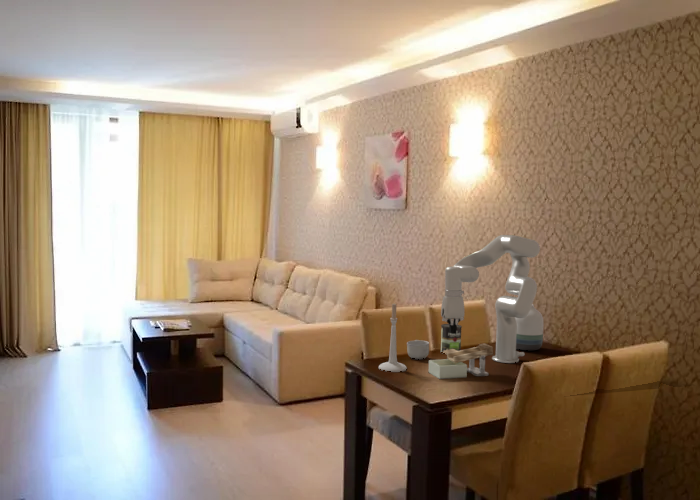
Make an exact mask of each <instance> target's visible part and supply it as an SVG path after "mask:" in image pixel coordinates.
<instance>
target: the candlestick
mask: <svg viewBox="0 0 700 500" xmlns="http://www.w3.org/2000/svg"><path fill="white" fill-rule="evenodd" d="M389 319H390V323H391V327H390V328H391V331H390V332H391V333H390V345H389V357H388V361H386V362H382V363H380V364H379V365H378V369H379V370H380V369H381V370H380V371H383V370H385V371H384V372H387V371H391V372H390V373H400V371H402V372H406V371H407V370H408V368H407V366H406V365H405V364H404V363H401V362H398V358H397V354H398V353H397V327H396V325H397V323H398V321H397V320H398V318H397V303H391V317H390V318H389ZM406 369H407V370H406Z"/></svg>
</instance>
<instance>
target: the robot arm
mask: <svg viewBox="0 0 700 500" xmlns="http://www.w3.org/2000/svg"><path fill="white" fill-rule="evenodd" d="M540 251H541V246H540V244H539V242H538V241H536V240H535V239H530V238H527V237H522V236H518V235H515V234H514V235H512V234H511V235H510V234H500V235H498V236H495V238H494V239H493V240H491V241H490V242H489V243H488V244H486V245H485V246H484V247H483V248H482V249H479V250H477V251H475V252H473V253H471V254H469V255H467V256H465V257H463V258H461V259H460V260H458V261H457V262H456V263H455V264H454V265H453V266H447V267H446V268H445V272H444V274H445V275H444V296H442V301H441V309H440V315H441V321H442V322H445V323H446V322H447V323H446V324H449V331H450V333H452V334H456V331H457V325H459V323H460V322H462V321H465V313H466V312H465V311H466V310H465V302H464V297H463V294H465V291H464V290H463V288H462V287H463V286H462V285H463V284H462V283H474V282H476V281H477V280H478V279H479V277H480V272H479V269H478V268H483V267H487V266H490V265H493V264H494V263H496V262H497V260H499V259H500V258H501V257H503V256H504V255H505V254H507V253H508V254H509V255H510V257H511V261H512V264H511V269H510V272H509V274H508V276H507V278H506V279H507V280H506V281H505V282H506V283H505V287H504V288H505V290H506V292H507V293H508V294H510V295H502V296H499V297H498V298H497V299H496V301H495V305H494V307H495V315H496V335H495V336H496V337H495V338H496V339H495V355H492V357H491V359H492V360H493V361H494V362H498V363H502V364H505V363H506V364H515V362H516V363H519V361H520V358H519V357H524V356H525V351H521V352H519V351H517V349H516V334H517V323H516V319H515V317H516V318H524V317H526V316H527V315H528V313H529V312H530V309H531V306H532V304H533V305H534V300H535V298H536V295H537V292H538V291H537V290H538V284H537V282H536V280H535V279H534V278H532V277H530V276H529V273H530V269H531V268H530V267H531V266H530V262H529V259H528V258H532V259H533V258H535V257H537V256H538V255H539V254H540ZM511 295H514V296H511ZM516 296H517V297H516Z"/></svg>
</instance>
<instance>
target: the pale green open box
mask: <svg viewBox="0 0 700 500" xmlns="http://www.w3.org/2000/svg"><path fill="white" fill-rule="evenodd" d="M467 368H468V364H466V363H465V362H464V361H461V362H457V363H454V362H452V361H450V360H448V359H447V358H446V359H430V360H428V373H429V374H430V375H432V376H433V377H435V378H437V379H439V380H446V379H460V378H461V379H463V378H467V375H468V374H467V373H468V372H467Z"/></svg>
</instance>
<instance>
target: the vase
mask: <svg viewBox="0 0 700 500" xmlns="http://www.w3.org/2000/svg"><path fill="white" fill-rule="evenodd" d="M515 319H516V323H517V334H516V350H519V349H520V351H526V350H528V351H529V352H531V351H537V350H540V349H541V348H542V346H543V339H544V317H543V314H542V313H541V312H540V311H539V310H538V309H537V308H536V307H535V305H534V303H533V304H532V306H531V309H530V312H529V313H528V315H527V316H526V317H524V318H516V317H515Z"/></svg>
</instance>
